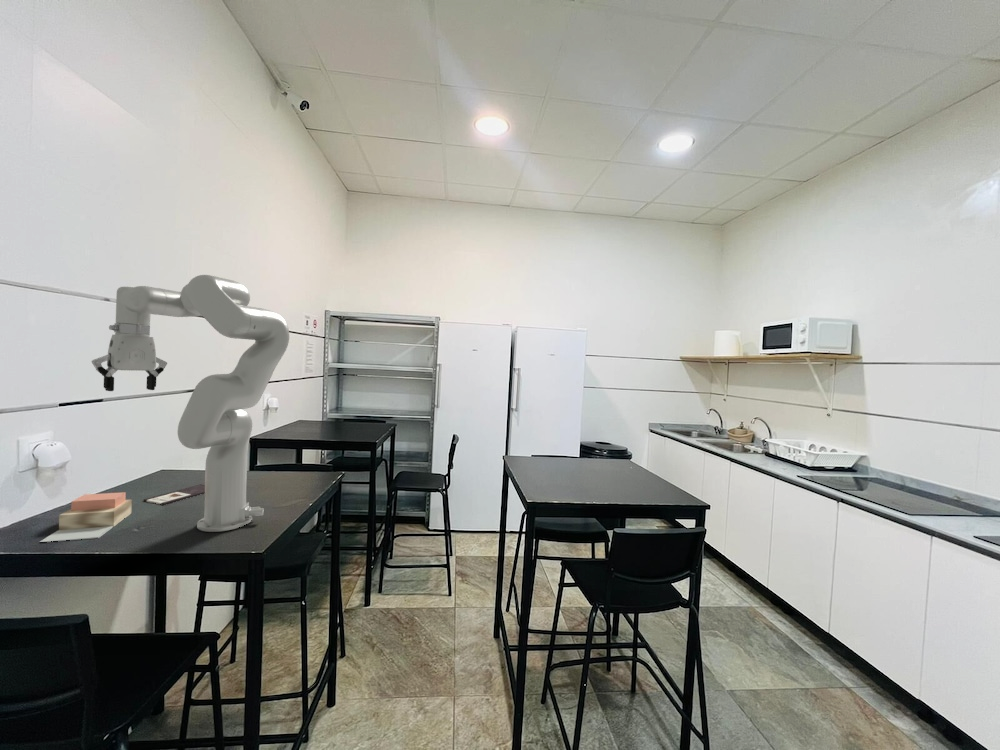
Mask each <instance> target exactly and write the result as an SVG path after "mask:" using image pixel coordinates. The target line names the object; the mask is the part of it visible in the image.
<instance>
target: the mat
mask: <svg viewBox="0 0 1000 750" xmlns="http://www.w3.org/2000/svg"><path fill="white" fill-rule="evenodd" d="M113 528H114V527H113V526H109V527H96V528H83V529H70V530H59V529H58V530H56V531H55V532H53V533H51V534H50V535H48V536H46V537H45V538H44V539H42V540H40V541H39V542H47V543H54V542H53V541H58V542H67V541H66V540H70V541H80V540H81V539H82V540H92V539H94V540H95V539H100V538H101V537H102V536H103V535H104V534H106V533H107V532H109V531H110V530H111V529H113ZM82 540H81V541H82ZM51 541H52V542H51Z"/></svg>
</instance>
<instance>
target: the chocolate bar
mask: <svg viewBox="0 0 1000 750" xmlns="http://www.w3.org/2000/svg"><path fill="white" fill-rule="evenodd" d="M204 493H205V484H198V485H194V486H193V485H192V486H190V487H185V488H181V489H179V490H174V491H170V492H165V493H163V494H159V495H155V496H151V497H147V498H144V499H143V502H147V503H151V504H155V503H156V504H157V505H160V504H161V506H166V504H167V505H170V504H173V502H174V503H177V502H180V500H181V501H184V500H187V499H186V498H188V499H191V498H194V497H193V496H195V497H197V495H198V496H201V495H200V494H202V495H205V494H204ZM190 497H191V498H190ZM183 499H184V500H183ZM176 501H177V502H176Z"/></svg>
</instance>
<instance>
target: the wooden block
mask: <svg viewBox="0 0 1000 750" xmlns="http://www.w3.org/2000/svg"><path fill="white" fill-rule="evenodd" d="M132 502H133V501H132V499H129V498H128V499H126V501H124V502H123V503H121V504H120V505H119V506H117V507H116V508H106V509H91V510H76V511H71V508H69V509H68V510H66V511H64V512H62V513H61V514H58V515H59V516H58V530H70V529H83V528H96V527H109V526H113V528H114V527H115V526H117V525H118V524H119V523H120V522H122V521H124V518H125V519H126V518H127V517H129V516H130V515H131V514H132Z"/></svg>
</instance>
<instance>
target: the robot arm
mask: <svg viewBox="0 0 1000 750" xmlns="http://www.w3.org/2000/svg"><path fill="white" fill-rule="evenodd" d="M115 299H116V300H115V303H116V304H115V323H114V324H110V325H109V326H108V329H109V330H110V331H114V332H113V333H114V334H112V335H111V338H110V341H109V345H108V348H107V349H108V351H107V354H106V355H103V356H101V357H100V356H99V357H98V358H95V359H92V360H91V363H92V365H93V367H94V368H95V371H96V372H98V373H99V374H100V375H101V376H103V388H104V389H105V391H106V392H113V391H114V390H115V376H113V375H114V374H116V372H117V371H141V372H142V371H145V372H146V373H147V374H148V375H147V377H146V390H150V391H155V389H156V387H157V377H159V375H160V374H161V373H162V372H164V369H165V368H166V367H167V365H168V362H167V361H165V360H163V359H161V358H160V357H157V353H156V344H155V339H154V337H153V336H150V335H151V315H156V316H157V315H158V316H168V317H173V318H174V317H175V318H188V317H201V316H202V318H204V320H206V321H207V322H208V323H209V325H210V326H211V327H212V329H214V330H215V331H216V332H218V333H219V334H220V335H222V336H223V337H225V338H226V337H227V338H229V339H238V340H239V339H240V340H248V341H249V340H254V341H255V342H254V343H253V344H252V345H251V346H249V347H248V348H247V349H246V350H245V351H244V352H243V353H242V355H240V358H239V360H238V361H237V364H236V366H235V367H234V369H233V370H232V372H229V373H216V374H210V375H207V376H206V377H204V378H202V379H201V380H200V381H199V382H198V383H197V385H196V386H195V388H194V389H193V391H192V393H191V395H190V397H189V400H188V401H187V404H186V405H185V408H184V411H183V413H182V415H181V417H180V420H179V422H178V425H177V438H178V441H179V442H180V443H181V445H182V446H183V447H185V448H188V449H190V450H191V449H192V450H201V449H206V448H209V450H208V453H207V454H206V459H205V467H204V468H205V470H204V475H205V476H204V485H205V494H204V512H203V513H204V514H203V515H204V516H203V517H202V518H201V519H199V520H198V521H197V522H196V524H197V525H196V529H198V531H201V532H208V533H214V532H215V533H216V532H217V533H218V532H227V531H230V530H237V529H240V528H241V527H245V526H246V524H247V525H248V524H250V523H251V522H252V521H253V516H256V517H257V516H260V517H261V516H264V510H265V508H263V507H261V506H254V507H251V505H250V502H249V501H248V502H247V480H248V479H247V475H248V473H247V472H248V470H247V469H248V452H249V451H248V450H249V443H250V438H251V436H252V430H253V419H252V417H251V415H250V414H249V413H248V412H247V410H246V409H250V408H253V407H255V406H256V405H258V403H259V401H260V400H261V399H262V396H263V394H264V393H265V390H266V388H267V386H268V384H269V382H270V380H271V378H272V376H273V373H274V371H275V370H276V368H277V366H278V364H279V363H280V361H281V359H282V358H283V356H284V354H285V352H286V351H287V348H288V347H289V343H290V330H289V326H288V324H287V321H286V320H285V318H283V317H282V316H281V314H279V313H278V312H275V311H273V310H270V309H266V308H260V307H256V306H249V304H250V301H251V294H250V292H249V290H248V288H247V287H246V286H244V285H243V284H242V283H240V282H238V281H235V280H232V279H227V278H225V277H224V278H223V277H218V276H215V275H211V274H200V275H197V276H195V277H193V278H191V279H190V280H189V282H188V283H187V284H185V285H184V286H183V288H182V289H181V291H176V290H170V289H165V288H160V287H152V286H148V285H147V286H146V285H138V286H134V287H132V286H120V287H118V288H117V289H116V297H115ZM104 362H106V365H107V368H106V369H105V367H103V366H102V363H104ZM157 364H158V366H157ZM251 520H252V521H251ZM244 525H245V526H244ZM239 527H240V528H239Z"/></svg>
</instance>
